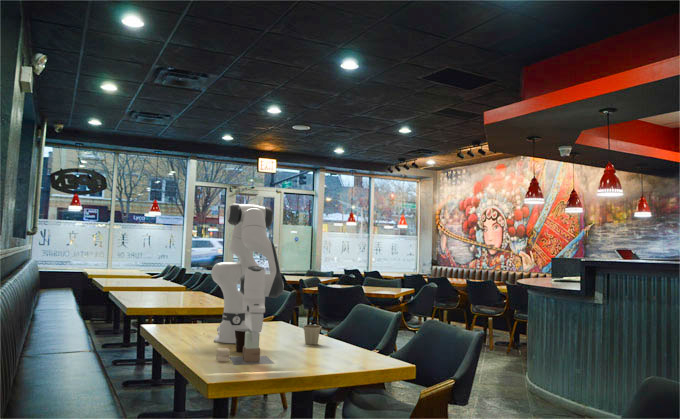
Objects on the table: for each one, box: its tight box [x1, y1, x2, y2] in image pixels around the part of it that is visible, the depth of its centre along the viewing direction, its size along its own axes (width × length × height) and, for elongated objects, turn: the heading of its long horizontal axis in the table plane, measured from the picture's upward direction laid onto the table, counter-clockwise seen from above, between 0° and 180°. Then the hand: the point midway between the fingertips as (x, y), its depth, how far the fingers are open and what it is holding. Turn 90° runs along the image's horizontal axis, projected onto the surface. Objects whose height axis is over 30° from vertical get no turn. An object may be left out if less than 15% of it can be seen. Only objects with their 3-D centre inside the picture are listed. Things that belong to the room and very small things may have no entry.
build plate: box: [229, 355, 275, 366], centre depth 213 cm, size 16×16×1 cm
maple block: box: [216, 347, 231, 362], centre depth 212 cm, size 4×4×5 cm
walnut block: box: [242, 346, 261, 362], centre depth 213 cm, size 6×6×5 cm
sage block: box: [244, 332, 261, 349], centre depth 214 cm, size 5×5×6 cm
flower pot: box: [302, 324, 322, 346], centre depth 262 cm, size 9×9×9 cm
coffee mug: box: [235, 329, 247, 354], centre depth 234 cm, size 12×9×10 cm
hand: (251, 340), depth 214 cm, fingers open, 8 cm apart
